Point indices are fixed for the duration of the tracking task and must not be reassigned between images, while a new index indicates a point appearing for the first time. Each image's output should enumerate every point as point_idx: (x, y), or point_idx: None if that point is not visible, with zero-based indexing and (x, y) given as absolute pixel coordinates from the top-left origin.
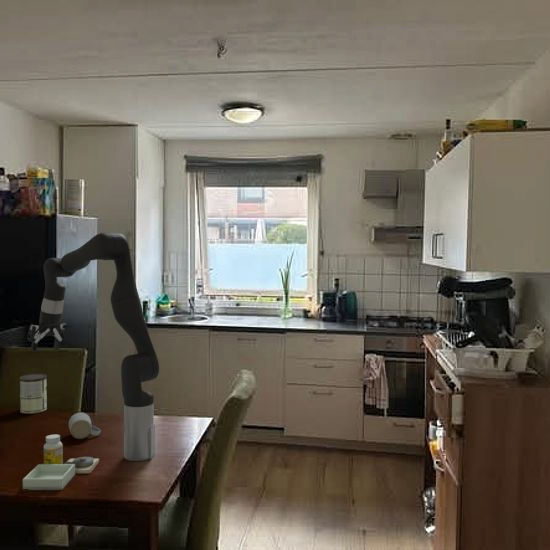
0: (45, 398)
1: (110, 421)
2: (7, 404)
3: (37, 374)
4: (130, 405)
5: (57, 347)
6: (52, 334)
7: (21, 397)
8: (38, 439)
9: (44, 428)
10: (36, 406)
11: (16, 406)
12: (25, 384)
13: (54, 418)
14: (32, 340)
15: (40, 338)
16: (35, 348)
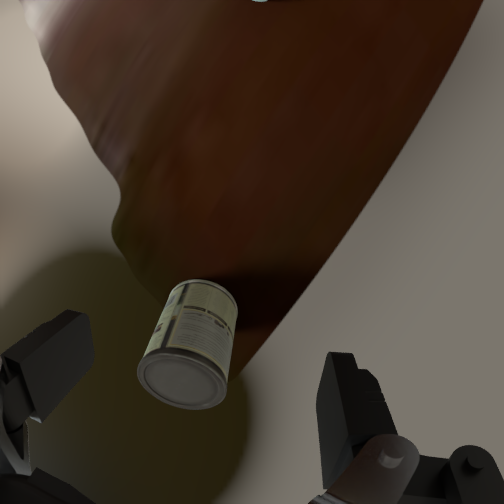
0: (170, 305)
1: (108, 33)
2: None
3: (157, 393)
4: None
5: (60, 322)
6: (30, 494)
7: (232, 342)
8: (357, 44)
9: (283, 120)
10: (207, 292)
11: None
12: (222, 362)
13: (202, 190)
14: (469, 458)
15: (330, 501)
16: (356, 377)
